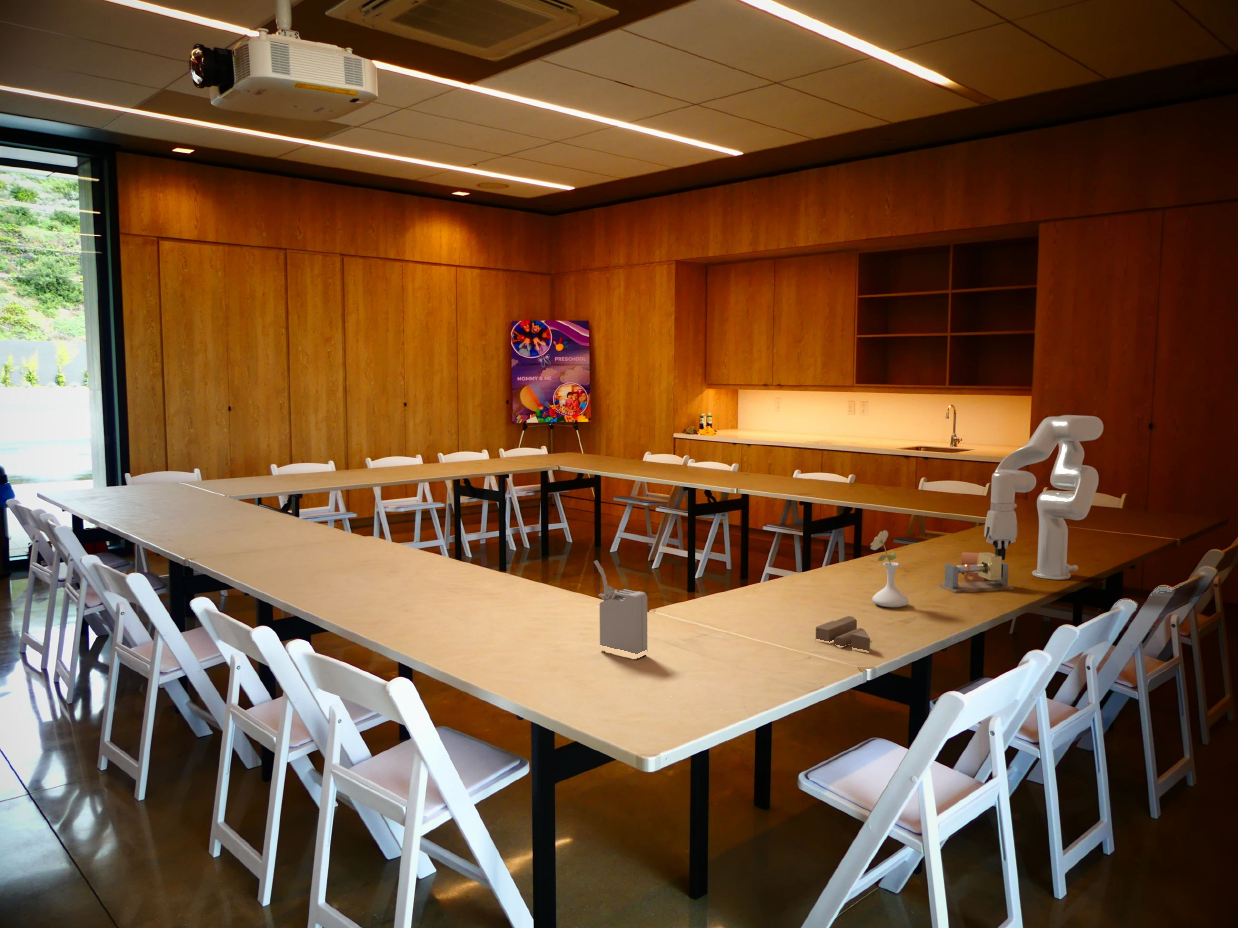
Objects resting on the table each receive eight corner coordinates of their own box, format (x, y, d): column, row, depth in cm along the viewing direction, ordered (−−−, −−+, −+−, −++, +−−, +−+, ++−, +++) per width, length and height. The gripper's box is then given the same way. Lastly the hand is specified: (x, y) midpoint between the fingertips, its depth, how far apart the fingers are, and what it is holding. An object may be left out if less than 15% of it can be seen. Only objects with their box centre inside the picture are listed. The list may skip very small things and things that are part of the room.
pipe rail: (998, 584, 309) (999, 561, 308) (1007, 587, 304) (1008, 564, 303) (944, 587, 305) (945, 563, 305) (952, 591, 300) (953, 566, 300)
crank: (962, 570, 332) (962, 550, 332) (984, 572, 329) (985, 551, 328) (959, 582, 314) (960, 560, 313) (983, 584, 311) (984, 562, 310)
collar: (988, 574, 309) (989, 552, 308) (1000, 579, 302) (1001, 556, 301) (978, 575, 309) (979, 552, 308) (990, 580, 302) (991, 556, 301)
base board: (995, 582, 312) (995, 580, 312) (1013, 589, 302) (1013, 587, 302) (939, 586, 308) (939, 583, 308) (955, 593, 298) (955, 590, 298)
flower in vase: (893, 599, 290) (895, 525, 288) (916, 607, 280) (918, 531, 277) (860, 603, 286) (862, 528, 283) (882, 612, 275) (884, 534, 272)
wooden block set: (813, 623, 245) (847, 611, 258) (813, 643, 246) (847, 630, 258) (867, 635, 233) (900, 622, 246) (867, 656, 234) (900, 641, 246)
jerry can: (592, 649, 240) (591, 560, 237) (603, 645, 244) (602, 557, 241) (636, 661, 230) (635, 568, 228) (647, 656, 234) (647, 564, 232)
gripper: (1014, 505, 309) (1012, 556, 310) (976, 506, 306) (974, 558, 308) (1028, 508, 301) (1026, 560, 303) (989, 509, 299) (987, 562, 300)
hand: (1000, 559), depth 305 cm, fingers closed
